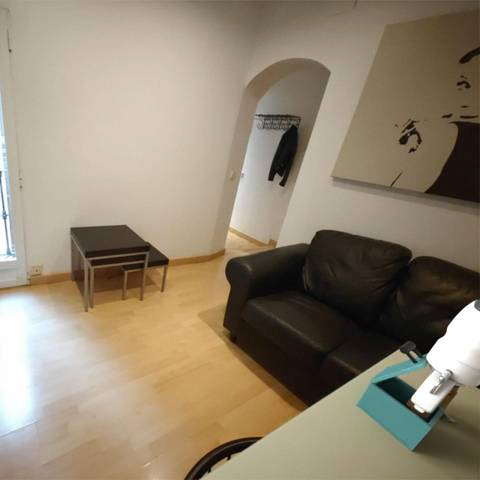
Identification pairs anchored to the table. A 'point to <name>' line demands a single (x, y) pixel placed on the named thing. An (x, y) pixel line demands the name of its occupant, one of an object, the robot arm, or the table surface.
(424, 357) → the teal box lid
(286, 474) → the table surface
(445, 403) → the condiment
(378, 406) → the teal hinged box
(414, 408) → the block
